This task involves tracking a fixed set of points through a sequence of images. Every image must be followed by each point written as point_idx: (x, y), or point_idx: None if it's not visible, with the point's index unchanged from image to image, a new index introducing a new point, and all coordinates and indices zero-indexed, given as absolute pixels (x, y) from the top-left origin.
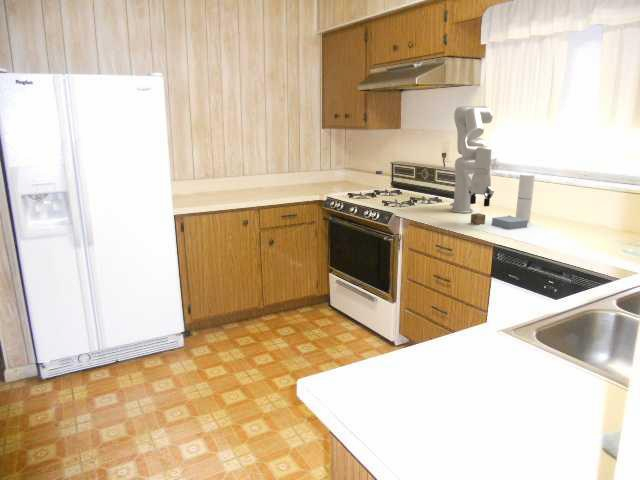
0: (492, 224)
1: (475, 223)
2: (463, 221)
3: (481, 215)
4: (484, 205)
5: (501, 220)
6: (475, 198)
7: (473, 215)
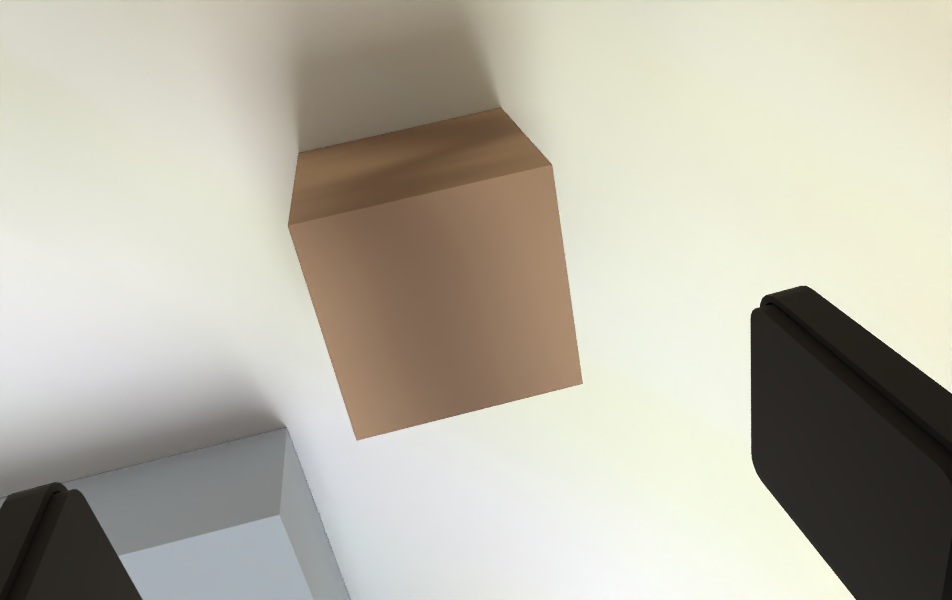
0: (270, 434)
1: (358, 146)
2: (694, 50)
3: (322, 330)
4: (3, 507)
5: None
6: (866, 593)
7: (461, 178)
